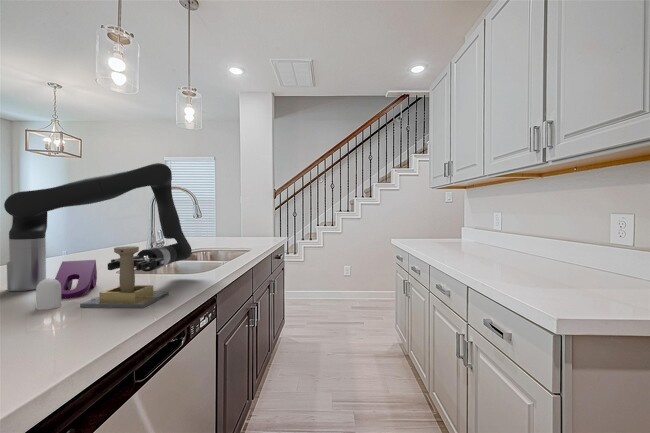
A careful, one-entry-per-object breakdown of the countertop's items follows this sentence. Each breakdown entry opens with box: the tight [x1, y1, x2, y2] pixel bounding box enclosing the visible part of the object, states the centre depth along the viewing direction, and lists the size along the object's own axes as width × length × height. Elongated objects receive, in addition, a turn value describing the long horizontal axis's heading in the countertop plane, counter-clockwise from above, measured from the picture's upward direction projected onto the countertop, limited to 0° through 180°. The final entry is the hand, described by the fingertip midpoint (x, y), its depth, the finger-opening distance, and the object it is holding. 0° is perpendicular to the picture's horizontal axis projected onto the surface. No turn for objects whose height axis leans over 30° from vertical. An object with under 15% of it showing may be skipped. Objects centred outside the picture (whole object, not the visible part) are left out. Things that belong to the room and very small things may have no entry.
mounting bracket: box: [54, 259, 98, 300], centre depth 106 cm, size 9×8×18 cm
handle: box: [113, 245, 140, 292], centre depth 96 cm, size 5×6×15 cm
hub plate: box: [79, 284, 170, 309], centre depth 96 cm, size 18×14×4 cm
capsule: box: [35, 278, 62, 311], centre depth 90 cm, size 5×5×8 cm
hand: (123, 266), depth 94 cm, fingers open, 8 cm apart
